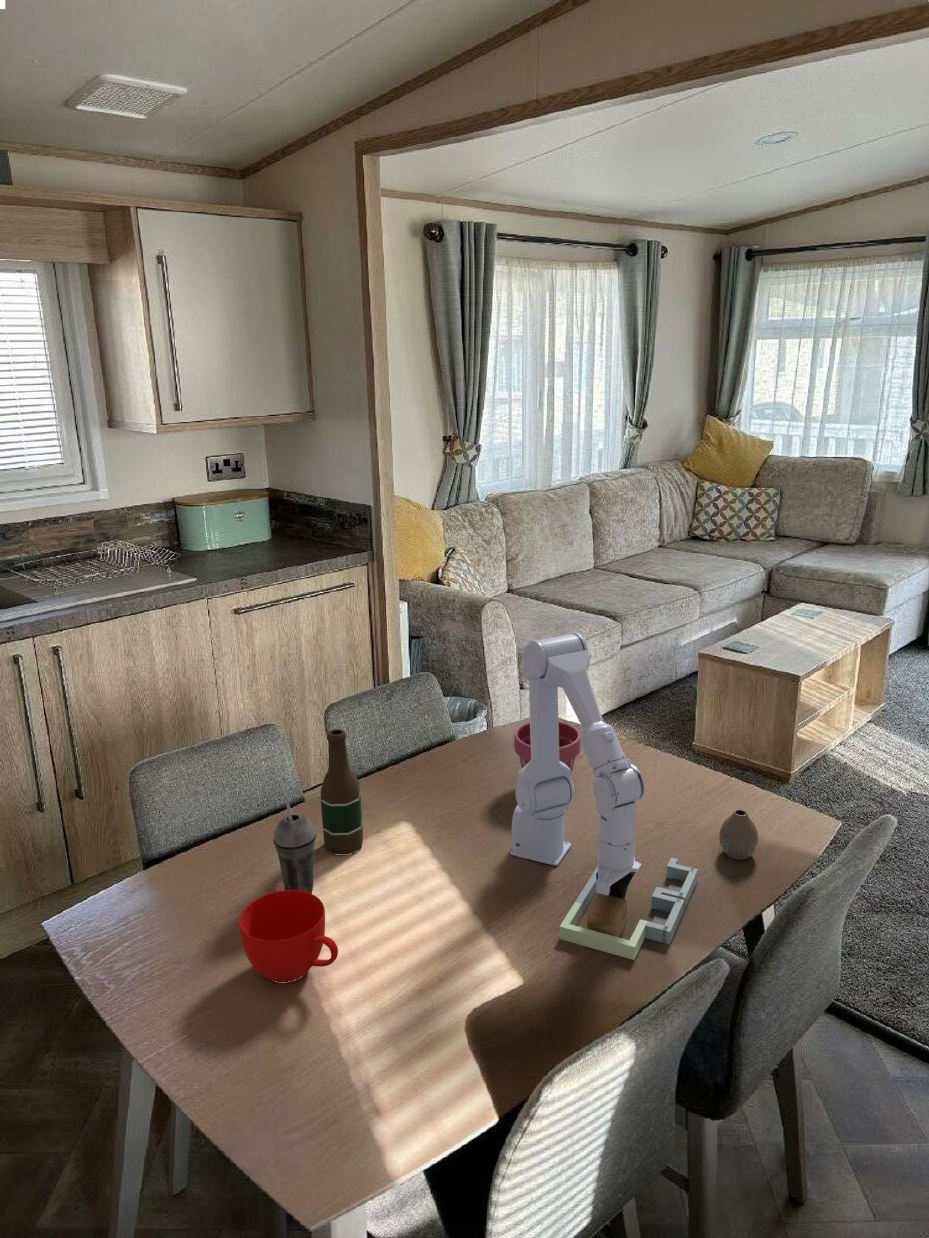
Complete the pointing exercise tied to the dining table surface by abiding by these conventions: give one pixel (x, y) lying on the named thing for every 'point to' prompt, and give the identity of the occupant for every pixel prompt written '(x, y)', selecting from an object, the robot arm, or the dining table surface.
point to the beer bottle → (341, 800)
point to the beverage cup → (295, 851)
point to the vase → (738, 836)
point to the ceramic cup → (285, 934)
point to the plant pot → (567, 744)
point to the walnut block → (607, 915)
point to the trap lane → (659, 929)
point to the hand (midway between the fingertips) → (614, 908)
